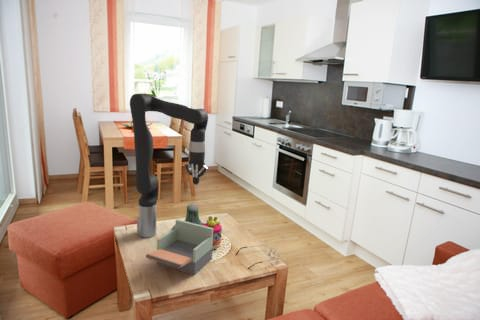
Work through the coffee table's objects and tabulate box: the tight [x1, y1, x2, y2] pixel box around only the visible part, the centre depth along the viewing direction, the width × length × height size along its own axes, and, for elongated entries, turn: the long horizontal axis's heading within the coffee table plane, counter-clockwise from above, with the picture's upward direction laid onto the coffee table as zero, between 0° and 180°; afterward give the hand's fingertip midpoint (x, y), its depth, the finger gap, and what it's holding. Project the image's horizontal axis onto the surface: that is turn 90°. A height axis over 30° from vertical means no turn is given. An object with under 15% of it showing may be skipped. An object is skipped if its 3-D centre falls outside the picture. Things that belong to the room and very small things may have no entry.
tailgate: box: [145, 249, 192, 268], centre depth 147 cm, size 1×17×10 cm
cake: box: [202, 215, 223, 251], centre depth 176 cm, size 10×11×15 cm
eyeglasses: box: [235, 242, 281, 269], centre depth 167 cm, size 16×19×5 cm
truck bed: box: [156, 218, 213, 276], centre depth 159 cm, size 16×20×16 cm
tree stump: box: [173, 204, 205, 229], centre depth 193 cm, size 18×20×18 cm
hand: (195, 184), depth 170 cm, fingers closed
